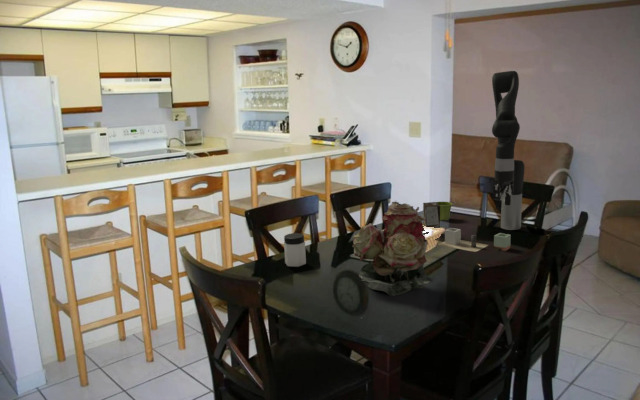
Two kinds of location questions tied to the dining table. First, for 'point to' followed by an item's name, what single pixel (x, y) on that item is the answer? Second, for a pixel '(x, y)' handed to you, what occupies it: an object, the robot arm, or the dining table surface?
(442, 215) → the plant pot
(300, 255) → the jar
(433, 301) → the dining table surface
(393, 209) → the rose bouquet
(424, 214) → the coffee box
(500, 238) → the sage sleeve
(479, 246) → the pin board
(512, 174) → the robot arm
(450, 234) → the grey sleeve
